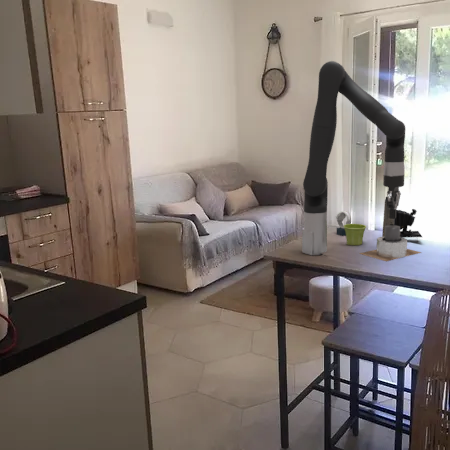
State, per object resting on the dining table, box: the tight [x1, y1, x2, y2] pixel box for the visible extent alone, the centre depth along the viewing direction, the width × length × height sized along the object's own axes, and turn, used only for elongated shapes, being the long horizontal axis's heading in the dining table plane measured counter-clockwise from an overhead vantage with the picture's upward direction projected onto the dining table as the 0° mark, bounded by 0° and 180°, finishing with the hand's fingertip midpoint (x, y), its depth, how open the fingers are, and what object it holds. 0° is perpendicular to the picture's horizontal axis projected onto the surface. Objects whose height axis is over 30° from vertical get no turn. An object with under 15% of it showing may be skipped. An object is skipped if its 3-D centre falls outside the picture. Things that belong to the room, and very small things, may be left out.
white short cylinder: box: [376, 236, 408, 259], centre depth 195 cm, size 11×11×6 cm
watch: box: [335, 210, 352, 237], centre depth 234 cm, size 6×8×11 cm
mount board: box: [358, 248, 423, 262], centre depth 198 cm, size 20×14×1 cm
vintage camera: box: [381, 198, 423, 243], centre depth 215 cm, size 10×16×20 cm, turn 78°
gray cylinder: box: [384, 225, 401, 242], centre depth 194 cm, size 6×6×8 cm
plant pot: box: [343, 223, 367, 246], centre depth 213 cm, size 9×9×9 cm
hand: (392, 218), depth 193 cm, fingers closed
